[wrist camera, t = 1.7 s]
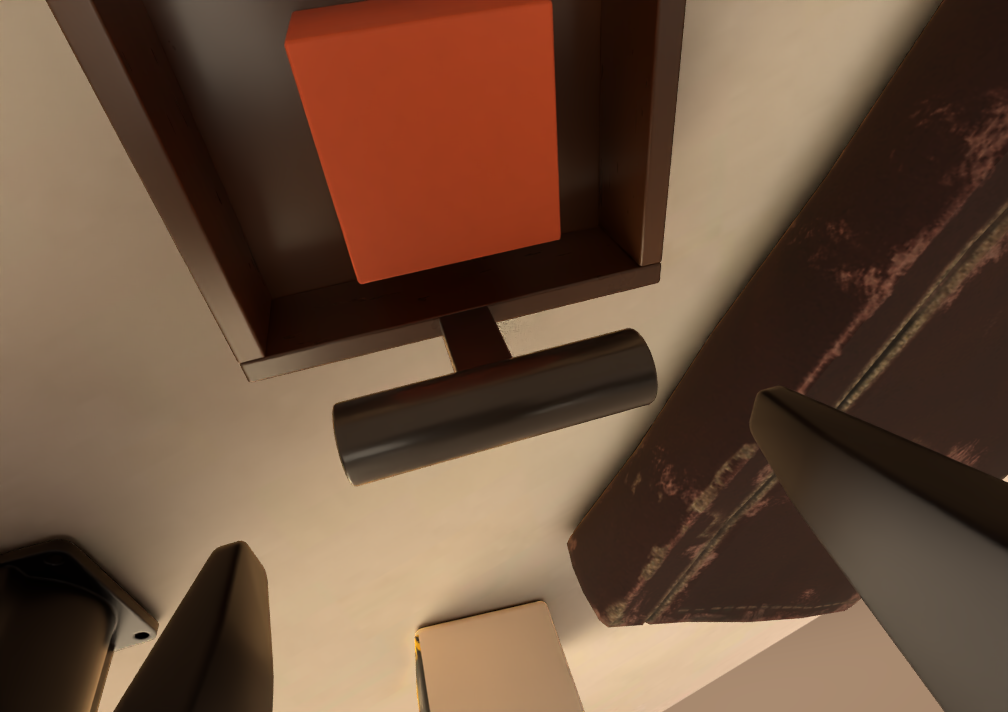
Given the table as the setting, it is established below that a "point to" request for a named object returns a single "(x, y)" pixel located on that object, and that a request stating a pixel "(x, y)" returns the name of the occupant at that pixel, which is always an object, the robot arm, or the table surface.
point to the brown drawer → (320, 242)
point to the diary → (832, 350)
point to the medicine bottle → (495, 664)
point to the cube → (432, 126)
